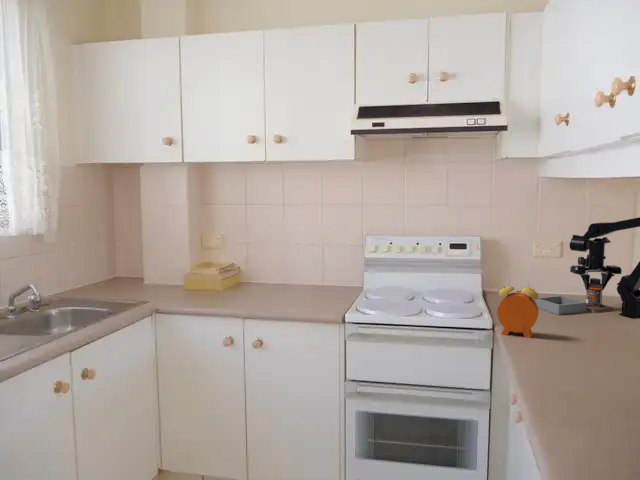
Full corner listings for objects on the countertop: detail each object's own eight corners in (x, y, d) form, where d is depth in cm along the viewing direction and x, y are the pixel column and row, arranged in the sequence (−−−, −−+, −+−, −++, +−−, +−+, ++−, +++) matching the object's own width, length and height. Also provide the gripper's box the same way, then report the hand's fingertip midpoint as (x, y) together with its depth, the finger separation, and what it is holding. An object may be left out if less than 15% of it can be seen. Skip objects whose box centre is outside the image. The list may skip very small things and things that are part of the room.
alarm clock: (537, 334, 194) (540, 278, 191) (536, 338, 188) (538, 281, 186) (498, 329, 200) (500, 275, 197) (496, 334, 194) (498, 278, 192)
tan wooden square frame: (612, 310, 226) (612, 307, 226) (593, 312, 223) (594, 309, 223) (593, 305, 236) (593, 302, 235) (575, 307, 232) (575, 303, 232)
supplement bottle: (585, 306, 228) (586, 279, 227) (586, 303, 233) (587, 277, 232) (601, 307, 225) (603, 280, 224) (601, 304, 230) (603, 278, 229)
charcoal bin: (586, 312, 224) (586, 302, 224) (558, 315, 220) (559, 305, 219) (560, 304, 237) (561, 295, 237) (534, 307, 233) (534, 298, 232)
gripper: (609, 250, 234) (607, 286, 236) (565, 250, 235) (563, 286, 237) (623, 254, 223) (621, 291, 225) (577, 254, 224) (575, 291, 225)
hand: (594, 290), depth 228 cm, fingers closed on supplement bottle, 6 cm apart
